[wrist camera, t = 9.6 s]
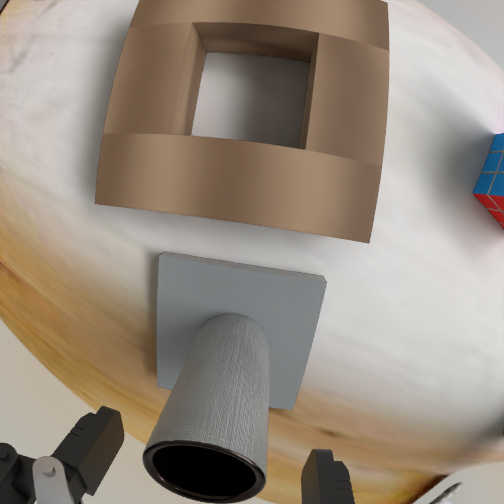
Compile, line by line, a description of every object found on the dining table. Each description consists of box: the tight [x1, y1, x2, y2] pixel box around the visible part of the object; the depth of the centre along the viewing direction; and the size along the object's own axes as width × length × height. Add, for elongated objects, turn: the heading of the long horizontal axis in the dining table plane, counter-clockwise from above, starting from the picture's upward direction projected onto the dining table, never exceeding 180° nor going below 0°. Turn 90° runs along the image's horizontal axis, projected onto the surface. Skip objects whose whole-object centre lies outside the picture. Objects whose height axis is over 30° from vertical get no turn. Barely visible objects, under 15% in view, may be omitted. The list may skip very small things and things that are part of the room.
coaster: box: [156, 252, 327, 410], centre depth 19 cm, size 10×10×1 cm
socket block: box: [95, 0, 389, 243], centre depth 14 cm, size 14×14×4 cm
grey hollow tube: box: [143, 314, 269, 504], centre depth 13 cm, size 4×4×10 cm
